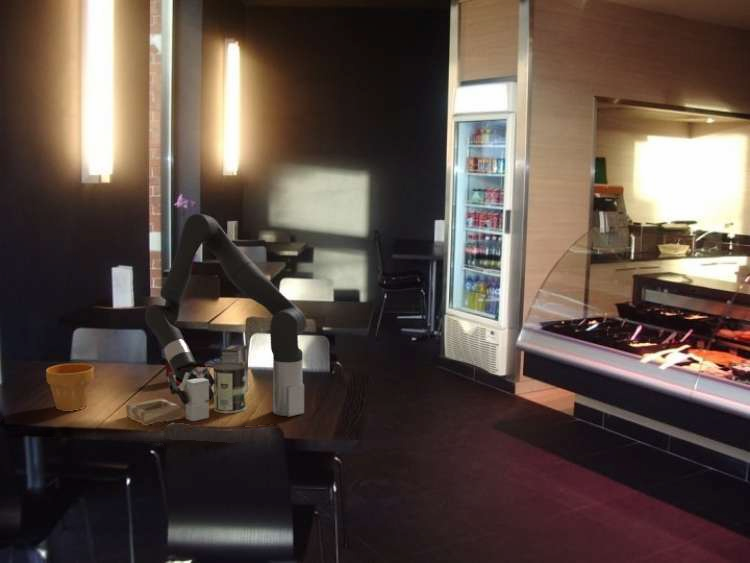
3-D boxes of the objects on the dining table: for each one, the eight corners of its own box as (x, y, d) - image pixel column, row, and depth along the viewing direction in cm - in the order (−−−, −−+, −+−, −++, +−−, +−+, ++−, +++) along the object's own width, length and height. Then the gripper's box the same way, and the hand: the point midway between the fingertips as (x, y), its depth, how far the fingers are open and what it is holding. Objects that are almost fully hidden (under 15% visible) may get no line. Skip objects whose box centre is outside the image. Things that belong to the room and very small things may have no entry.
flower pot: (68, 417, 249) (67, 375, 247) (37, 409, 255) (36, 369, 254) (104, 406, 261) (103, 366, 259) (73, 399, 268) (72, 361, 266)
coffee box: (231, 388, 284) (231, 344, 282) (248, 390, 283) (248, 345, 281) (221, 395, 275) (220, 349, 273) (239, 397, 274) (238, 350, 272)
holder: (181, 418, 249) (180, 406, 249) (145, 425, 241) (145, 413, 241) (161, 409, 258) (161, 398, 258) (126, 416, 250) (126, 404, 249)
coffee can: (243, 403, 267) (243, 361, 265) (247, 412, 257) (247, 369, 255) (212, 405, 264) (211, 363, 262) (215, 414, 254) (214, 370, 252)
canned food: (193, 382, 292) (192, 352, 291) (174, 386, 286) (173, 355, 285) (181, 378, 297) (180, 349, 296) (162, 382, 292) (161, 352, 290)
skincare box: (192, 421, 246) (192, 383, 245) (184, 418, 249) (184, 380, 248) (210, 417, 250) (209, 379, 249) (202, 414, 254) (201, 376, 252)
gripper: (163, 354, 248) (183, 398, 241) (204, 347, 258) (224, 390, 251) (155, 367, 252) (174, 411, 246) (195, 361, 262) (214, 403, 255)
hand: (199, 400), depth 248 cm, fingers open, 8 cm apart
